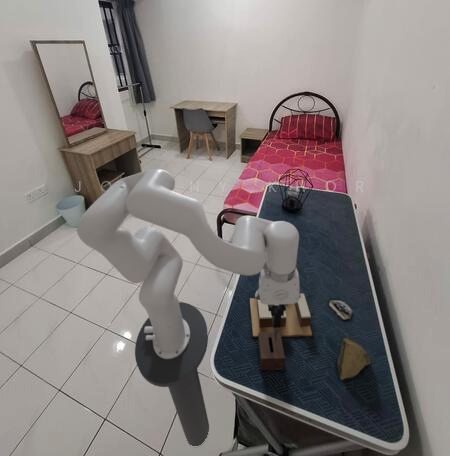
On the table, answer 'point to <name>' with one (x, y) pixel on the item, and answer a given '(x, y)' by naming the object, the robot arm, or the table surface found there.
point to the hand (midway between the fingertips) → (276, 310)
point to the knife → (276, 320)
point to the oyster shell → (341, 309)
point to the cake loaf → (267, 315)
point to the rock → (351, 359)
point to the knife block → (270, 351)
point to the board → (289, 330)
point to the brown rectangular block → (302, 312)
